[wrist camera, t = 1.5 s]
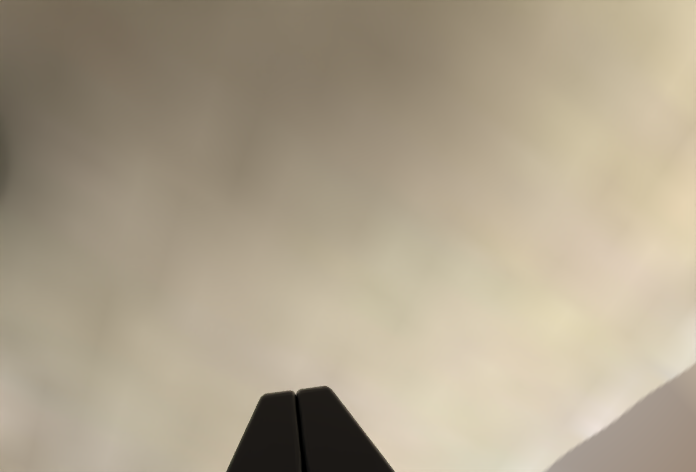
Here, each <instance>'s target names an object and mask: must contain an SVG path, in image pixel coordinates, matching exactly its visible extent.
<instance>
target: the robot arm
mask: <svg viewBox="0 0 696 472" xmlns="http://www.w3.org/2000/svg"><path fill="white" fill-rule="evenodd" d="M226 472H395V471H394V470H393V469H392V467H391V466H390V465H389V463H388V462H387V461H386V459H385V458H384V457H383V455H382V454H381V453H380V452H379V450H378V449H377V448H376V446H375V445H374V444H373V442H372V441H371V440H370V439H369V437H368V436H367V435H366V433H365V432H364V431H363V429H362V428H361V427H360V426H359V424H358V423H357V422H356V420H355V419H354V418H353V416H352V415H351V414H350V413H349V411H348V410H347V409H346V407H345V406H344V405H343V403H342V402H341V401H340V400H339V398H338V397H337V396H336V394H335V393H334V392H333V391H332V389H331V388H329V387H327V386H321V387H313V388H305V389H300V390H299V391H298V392H297V394H295V393H294V392H293V391H282V392H275V393H267V394H264V395H263V396H262V397H261V398H260V400H259V402H258V404H257V406H256V408H255V410H254V412H253V415H252V417H251V419H250V421H249V423H248V425H247V428H246V430H245V432H244V434H243V436H242V439H241V441H240V443H239V445H238V447H237V449H236V452H235V454H234V456H233V458H232V460H231V462H230V465H229V467H228V469H227V471H226Z"/></svg>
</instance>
